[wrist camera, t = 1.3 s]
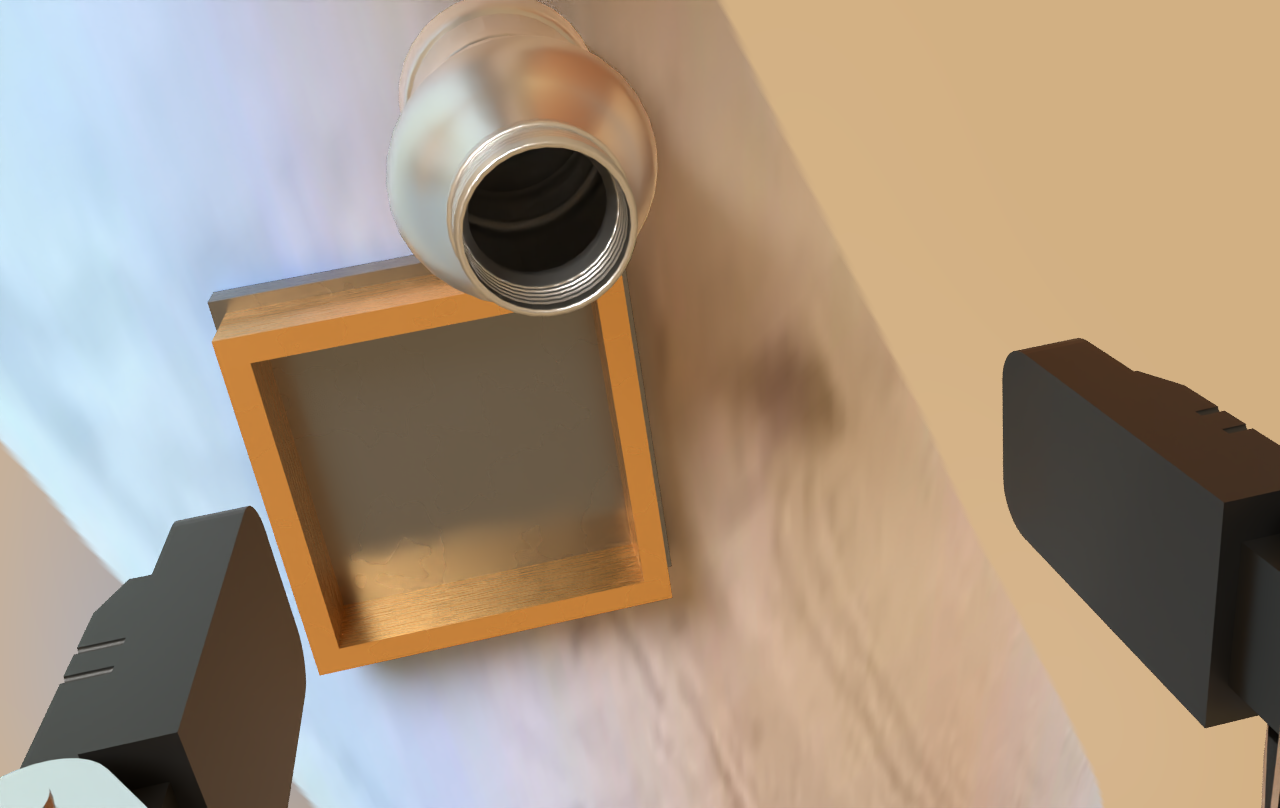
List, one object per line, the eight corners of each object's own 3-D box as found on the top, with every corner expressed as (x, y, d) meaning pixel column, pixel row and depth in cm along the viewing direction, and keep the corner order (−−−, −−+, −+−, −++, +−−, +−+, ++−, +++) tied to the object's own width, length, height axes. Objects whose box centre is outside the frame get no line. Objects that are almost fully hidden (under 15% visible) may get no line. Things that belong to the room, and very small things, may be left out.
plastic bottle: (622, 104, 42) (773, 256, 23) (473, 213, 42) (509, 443, 24) (517, -53, 39) (595, -17, 21) (359, 66, 40) (303, 200, 21)
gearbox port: (213, 292, 42) (192, 330, 38) (614, 217, 43) (632, 247, 39) (319, 626, 48) (310, 688, 44) (666, 551, 49) (686, 605, 46)
